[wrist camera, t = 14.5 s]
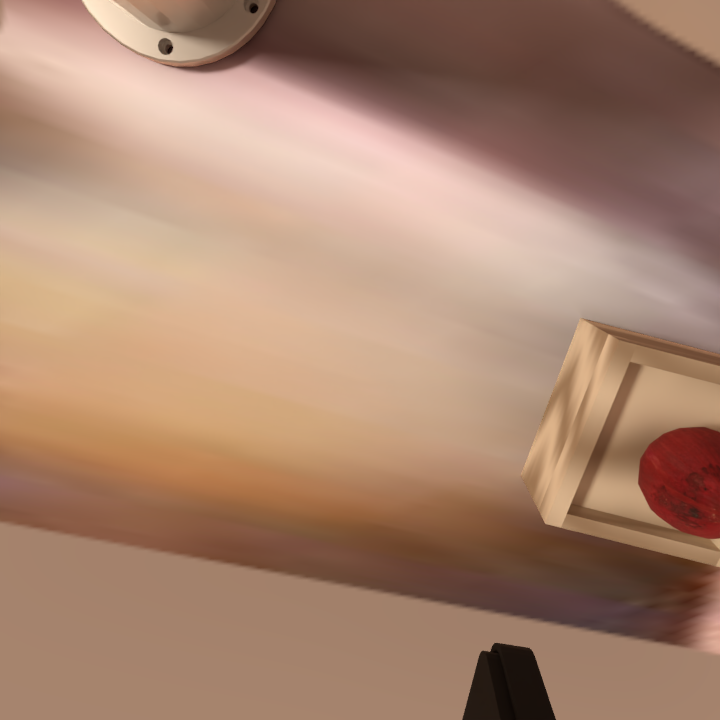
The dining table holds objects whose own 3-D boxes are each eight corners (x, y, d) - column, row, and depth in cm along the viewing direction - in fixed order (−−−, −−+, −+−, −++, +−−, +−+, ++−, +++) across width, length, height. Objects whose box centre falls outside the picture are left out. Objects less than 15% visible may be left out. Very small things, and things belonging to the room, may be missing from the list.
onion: (614, 495, 34) (682, 581, 26) (618, 410, 32) (693, 475, 24) (709, 489, 33) (808, 575, 26) (718, 403, 32) (826, 467, 24)
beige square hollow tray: (578, 316, 36) (619, 340, 29) (748, 361, 36) (825, 393, 30) (519, 472, 39) (545, 523, 33) (675, 512, 39) (731, 569, 33)
